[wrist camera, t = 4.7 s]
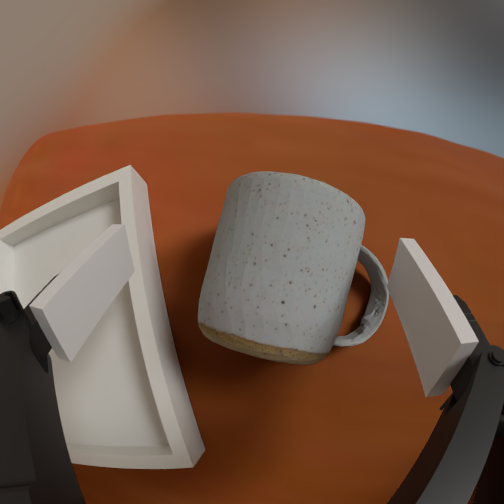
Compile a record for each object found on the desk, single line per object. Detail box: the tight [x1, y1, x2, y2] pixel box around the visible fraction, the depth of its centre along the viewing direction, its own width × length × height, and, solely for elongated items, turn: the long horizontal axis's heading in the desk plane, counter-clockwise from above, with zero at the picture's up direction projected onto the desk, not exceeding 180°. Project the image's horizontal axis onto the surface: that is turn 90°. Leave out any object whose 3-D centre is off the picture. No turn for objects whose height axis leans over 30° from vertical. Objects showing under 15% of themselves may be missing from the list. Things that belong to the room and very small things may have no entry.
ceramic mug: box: [198, 172, 389, 365], centre depth 15 cm, size 11×8×8 cm
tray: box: [0, 165, 206, 469], centre depth 17 cm, size 16×20×3 cm
